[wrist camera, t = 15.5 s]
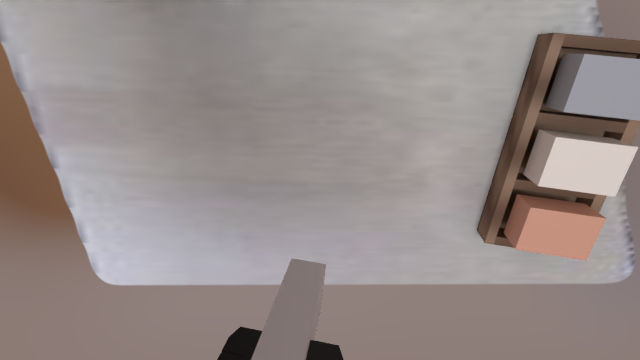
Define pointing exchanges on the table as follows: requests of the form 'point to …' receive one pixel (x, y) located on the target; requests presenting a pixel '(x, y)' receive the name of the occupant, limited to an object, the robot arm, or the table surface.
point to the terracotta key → (553, 227)
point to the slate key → (597, 86)
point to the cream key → (579, 162)
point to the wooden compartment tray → (538, 116)
